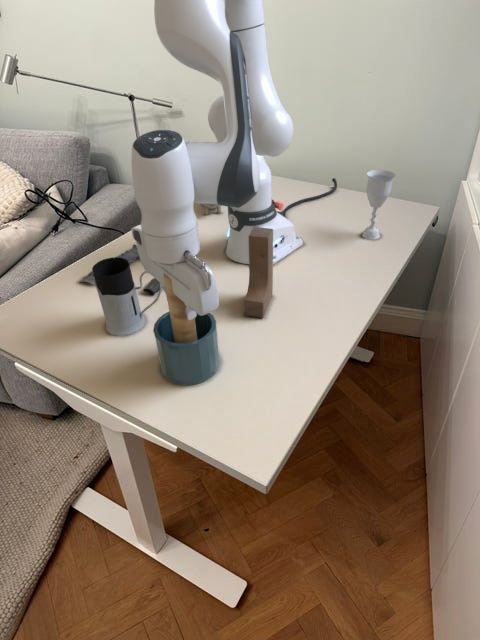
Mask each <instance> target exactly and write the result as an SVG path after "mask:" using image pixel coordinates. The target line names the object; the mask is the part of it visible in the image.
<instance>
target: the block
mask: <svg viewBox="0 0 480 640" xmlns="http://www.w3.org/2000/svg"><path fill="white" fill-rule="evenodd" d="M159 290H160V284H159V281H158V280H157V279H155V278H154V277H153V278H152V279H151V280H150V281H149V282H148V283H147V284H146V285H145V286H144V287H143V289H142V291H143V292H144V293H147V294H149V295H155V294H157V293H158V292H159Z"/></svg>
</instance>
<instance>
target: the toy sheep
mask: <svg viewBox="0 0 480 640" xmlns="http://www.w3.org/2000/svg"><path fill="white" fill-rule="evenodd" d="M199 205H200V206H202V207H203V209H204V214H205V215H209V213H210V211H209V210H215V209H216V212H217V214H221V213H222V206H221V205H218V204H202V203H199Z"/></svg>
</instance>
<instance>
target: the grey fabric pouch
mask: <svg viewBox="0 0 480 640" xmlns="http://www.w3.org/2000/svg"><path fill="white" fill-rule="evenodd" d="M116 257H119V258H124V259H126V260H128V262H129V264H130V263H132V262H134V261H135V260H136V259H137V258H140V257H139V254H138V250H137V245H136V243H134V244H132V247H131V248H129V249H128V250H125V251H124V252H122V253H121V254H119V255H117V256H116ZM82 282H85V283H89V284H92V285H95V279H94V274H93V271H92V270H91V271H89V273H88V274H87V275H86V276H83V277H82V279H81V280H79V283H82Z"/></svg>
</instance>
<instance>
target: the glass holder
mask: <svg viewBox="0 0 480 640" xmlns="http://www.w3.org/2000/svg"><path fill="white" fill-rule="evenodd" d="M91 271H93V274H94V279H95V284H94V285H95V288H96V292H97V295H98V298H99V302H100V305H101V309H102V312H103V315H104V319H105V330H106V331H107V333H108V334H111V335H112V336H115V337H124V336H125V337H126V336H130V335H133V334H135V333H137V332H139V331H140V330H141V329H142V328H143V327H144V325H145V323H146V319H145V317H144V315H143V314H144V313H145V312H146V311H148V310H149V309H150V308H151V307H152V306H154V305H155V304H156V303H157V302H158V301H159V299H160V295H161V293H162V290H163V288H162V286H161V283H160V282H159V284H160V290H159V291H158V294H157V296H156V298H155V299H154V300H153V301H152V302H151V303H150V304H148V305H147V306H146V307H145V308H144V309H143V310H141V306H140V301H139V297H138V293H137V290H141V289H142V287H143V276H144V275H146V274H149V273H148V272H147V271H146V270H144V271H143V272H142V273H141V274H140V276H139V286H136V283H135V281H134V279H133V273H132V269H131V264H130V263H129V262H128V260H126V259H124V258H119V257H117V256H113V257H108V258H104V259H101V260H99V261H98V262H96V263H95V264H94V265H93V266H92V269H91Z"/></svg>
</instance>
